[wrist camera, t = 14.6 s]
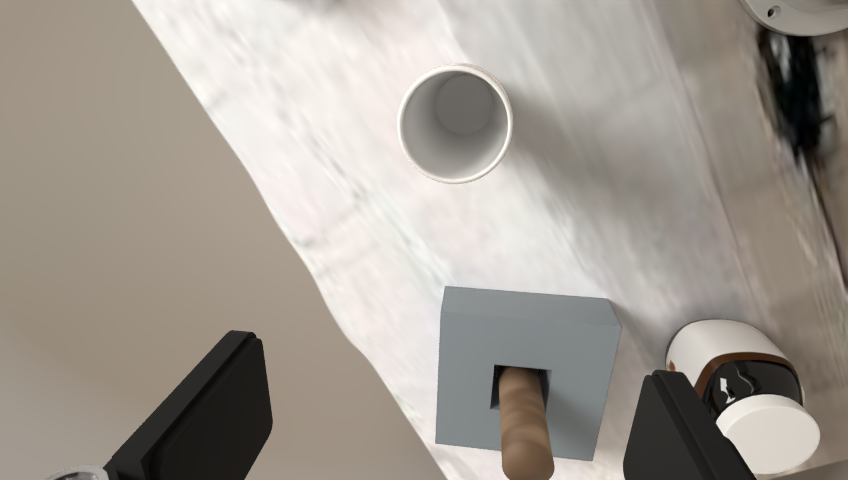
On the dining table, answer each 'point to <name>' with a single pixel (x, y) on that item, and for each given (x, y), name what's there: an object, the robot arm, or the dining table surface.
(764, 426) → the spread jar
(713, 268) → the dining table surface
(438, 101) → the drinking glass
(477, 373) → the socket block
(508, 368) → the walnut peg
